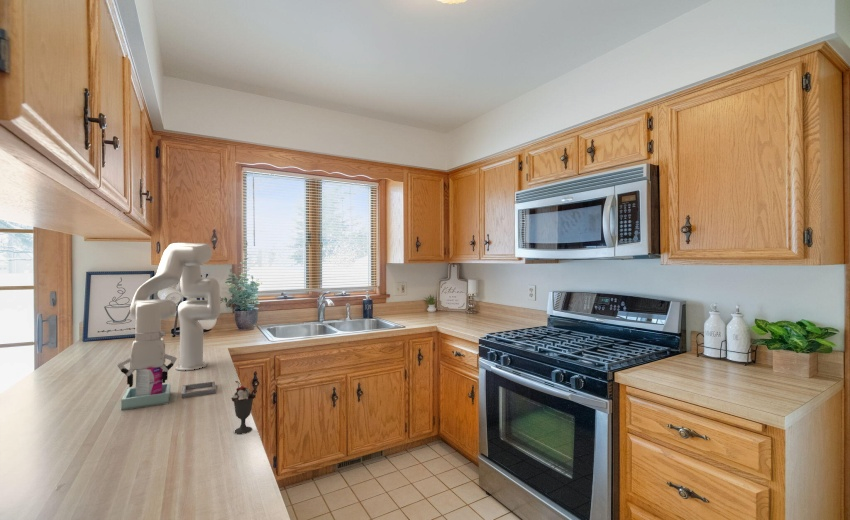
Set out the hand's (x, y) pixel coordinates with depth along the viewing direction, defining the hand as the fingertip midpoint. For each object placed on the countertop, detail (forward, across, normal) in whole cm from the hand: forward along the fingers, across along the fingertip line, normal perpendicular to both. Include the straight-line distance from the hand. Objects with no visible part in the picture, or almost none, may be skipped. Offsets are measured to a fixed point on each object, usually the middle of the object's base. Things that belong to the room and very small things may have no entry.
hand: (147, 384), depth 139 cm
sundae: (+6, -27, +43) cm, 51 cm away
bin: (+6, 0, 0) cm, 6 cm away
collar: (+6, -16, -3) cm, 17 cm away
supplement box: (+6, 0, 0) cm, 6 cm away
